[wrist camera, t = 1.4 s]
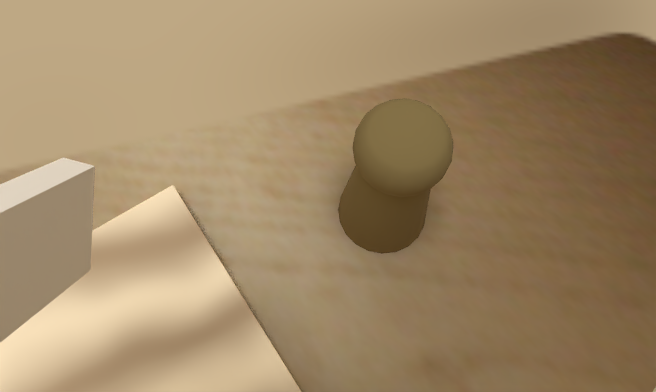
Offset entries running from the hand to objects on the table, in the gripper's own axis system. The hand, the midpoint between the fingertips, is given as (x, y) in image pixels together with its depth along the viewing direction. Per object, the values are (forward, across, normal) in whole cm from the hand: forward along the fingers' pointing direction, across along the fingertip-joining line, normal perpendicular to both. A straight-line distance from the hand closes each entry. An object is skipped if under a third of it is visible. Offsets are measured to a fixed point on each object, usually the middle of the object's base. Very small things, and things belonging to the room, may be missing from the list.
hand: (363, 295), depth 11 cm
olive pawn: (+23, +1, -8) cm, 24 cm away
